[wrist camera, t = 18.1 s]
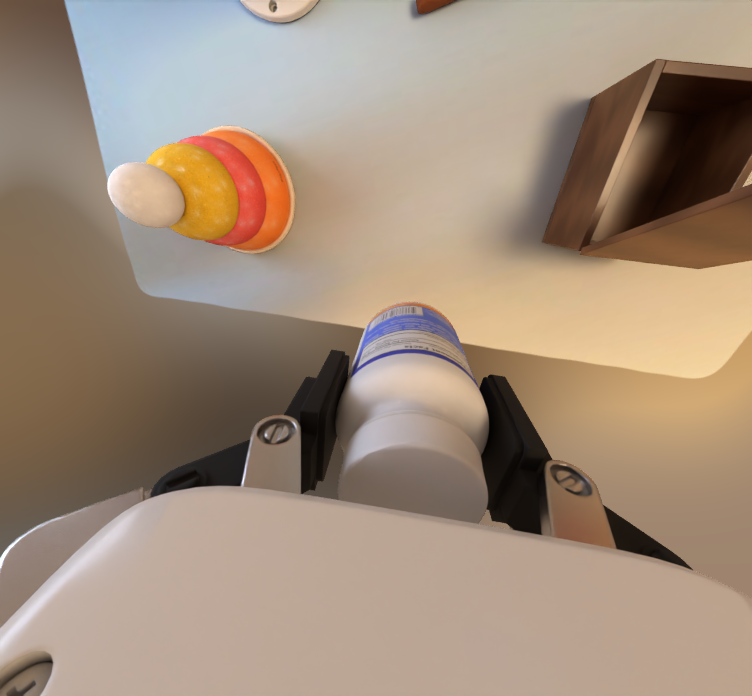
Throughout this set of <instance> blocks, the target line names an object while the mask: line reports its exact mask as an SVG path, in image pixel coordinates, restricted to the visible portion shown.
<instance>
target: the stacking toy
mask: <svg viewBox="0 0 752 696" xmlns="http://www.w3.org/2000/svg"><path fill="white" fill-rule="evenodd" d="M107 188H108V193H109V196H110V198H111V200H112V202H113V204H114V205H115V206H116V208H117V209H118V210H119V211H120V212H121V213H122V214H123V215H125V216H126V217H128V218H129V219H131V220H132V221H134V222H136V223H138V224H141V225H144V226H147V227H152V228H165V227H170V228H171V229H173V230H174V231H176V232H177V233H179V234H181V235H184V236H186V237H189V238H192V239H197V240H204V241H207V242H210V243H213V244H217V245H224V246H226V247H228V248H230V249H232V250H235V251H238V252H242V253H261V252H265V251H268V250H270V249H272V248H273V247H275V246H276V245H278V244H279V243H280V242H281V241H282V240H283V239H284V238H285V236H286V235H287V233H288V232H289V230H290V228H291V225H292V222H293V219H294V214H295V192H294V187H293V183H292V180H291V177H290V174H289V172H288V170H287V168H286V166H285V164H284V162H283V160H282V159H281V157H280V156H279V155H278V153H277V152H276V151H275V150H274V148H273V147H272V146H271V145H270V144H269V143H268V142H266V141H265V140H264V139H263V138H261V137H260V136H259V135H257V134H255V133H254V132H252V131H250V130H247V129H245V128H242V127H237V126H229V125H227V126H219V127H215V128H212V129H210V130H208V131H206V132H205V133H203V134H202V135H201V136H193V137H189V138H186V139H183V140H181V141H179V142H177V143H173V144H168V145H165V146H162V147H161V148H159V149H157V150H156V151H155V152H153V153H152V154H151V156H150V157H149V158H148V160H147V162H146V163H142V162H130V163H126V164H123V165H121V166H119V167H117V168H116V169H115V170H114V171H113V172H112V173H111V174H110V176H109V179H108V184H107Z"/></svg>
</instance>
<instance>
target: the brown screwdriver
mask: <svg viewBox="0 0 752 696" xmlns="http://www.w3.org/2000/svg"><path fill="white" fill-rule="evenodd" d="M453 1H455V0H416V4H417V10H418V12H419V13H420V14H424V13H427V12H430V11H433V10H435V9H437V8H440V7H442V6H444V5H446V4H448V3H451V2H453Z"/></svg>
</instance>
